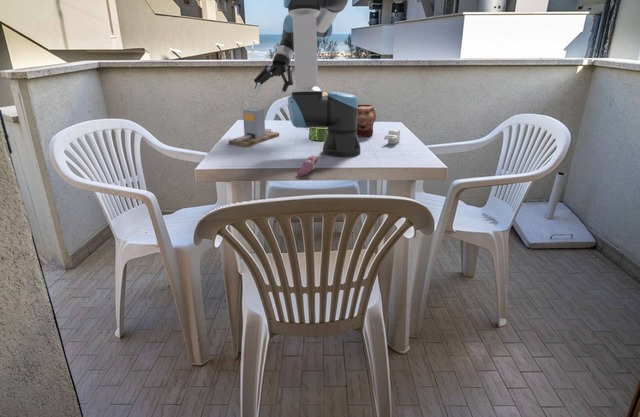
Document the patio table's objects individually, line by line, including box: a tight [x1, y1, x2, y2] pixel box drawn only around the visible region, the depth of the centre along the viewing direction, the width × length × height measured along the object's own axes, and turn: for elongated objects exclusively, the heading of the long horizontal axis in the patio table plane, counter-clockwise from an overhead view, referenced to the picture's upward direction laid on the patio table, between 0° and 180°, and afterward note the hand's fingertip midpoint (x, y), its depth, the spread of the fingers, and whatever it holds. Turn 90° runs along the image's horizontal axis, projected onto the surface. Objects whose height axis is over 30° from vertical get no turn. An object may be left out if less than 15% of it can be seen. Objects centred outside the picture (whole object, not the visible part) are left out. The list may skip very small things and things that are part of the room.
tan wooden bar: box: [236, 128, 272, 142], centre depth 185 cm, size 22×2×2 cm, turn 151°
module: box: [242, 107, 266, 139], centre depth 183 cm, size 6×7×12 cm
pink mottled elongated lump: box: [296, 154, 319, 177], centre depth 140 cm, size 10×5×7 cm, turn 169°
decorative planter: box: [357, 104, 377, 137], centre depth 195 cm, size 20×12×14 cm, turn 1°
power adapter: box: [384, 128, 401, 145], centre depth 179 cm, size 11×5×6 cm, turn 152°
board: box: [228, 131, 280, 148], centre depth 185 cm, size 24×10×2 cm, turn 151°
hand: (267, 96), depth 187 cm, fingers open, 13 cm apart
